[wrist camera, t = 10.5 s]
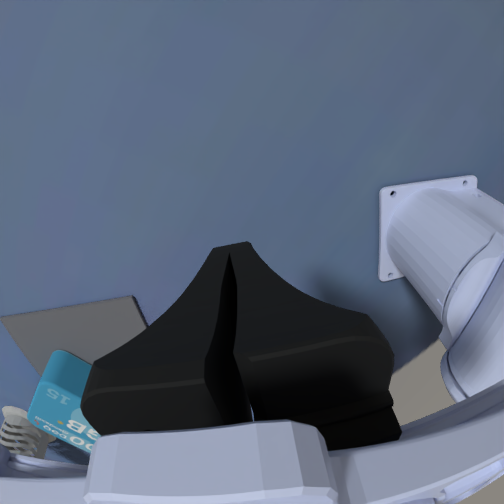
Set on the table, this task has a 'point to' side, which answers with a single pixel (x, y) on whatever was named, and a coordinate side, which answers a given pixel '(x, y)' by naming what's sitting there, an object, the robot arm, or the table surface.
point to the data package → (63, 401)
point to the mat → (76, 330)
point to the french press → (23, 434)
